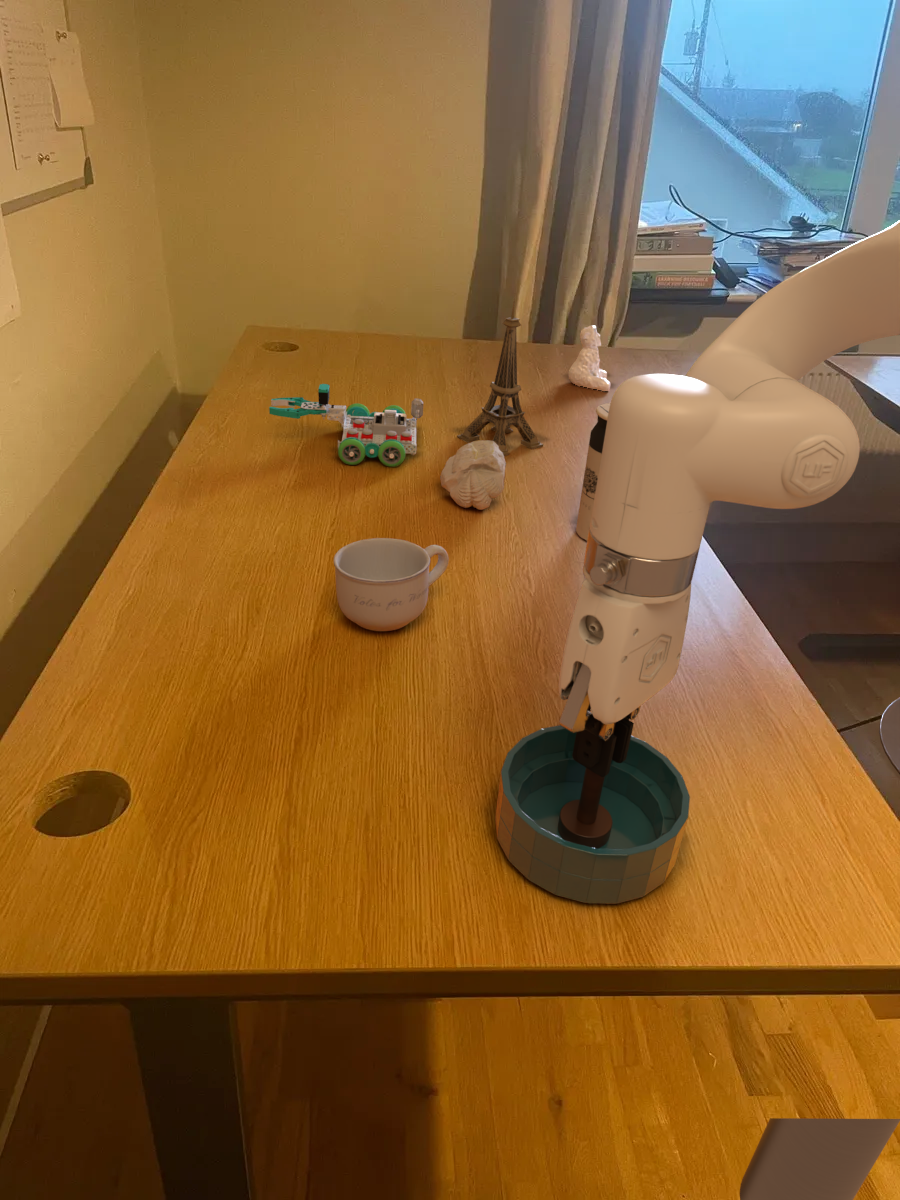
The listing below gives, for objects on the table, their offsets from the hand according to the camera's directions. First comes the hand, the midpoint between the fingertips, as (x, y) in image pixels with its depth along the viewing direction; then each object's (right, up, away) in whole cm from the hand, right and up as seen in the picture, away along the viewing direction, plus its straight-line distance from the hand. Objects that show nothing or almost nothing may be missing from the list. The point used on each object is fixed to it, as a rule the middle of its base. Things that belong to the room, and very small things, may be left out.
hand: (598, 759), depth 71 cm
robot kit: (-29, +38, +76) cm, 90 cm away
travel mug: (+10, +22, +54) cm, 59 cm away
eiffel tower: (-3, +40, +82) cm, 91 cm away
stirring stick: (-1, -7, +4) cm, 8 cm away
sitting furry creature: (+17, +57, +113) cm, 128 cm away
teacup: (-19, +11, +33) cm, 39 cm away
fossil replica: (-9, +28, +61) cm, 68 cm away
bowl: (-1, -7, +5) cm, 9 cm away
